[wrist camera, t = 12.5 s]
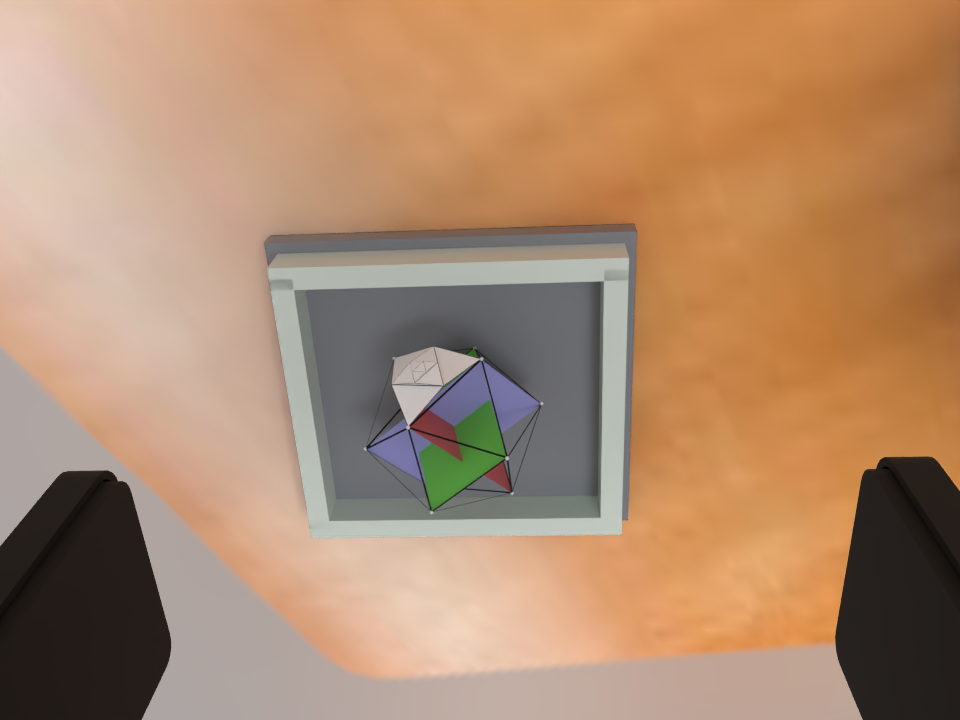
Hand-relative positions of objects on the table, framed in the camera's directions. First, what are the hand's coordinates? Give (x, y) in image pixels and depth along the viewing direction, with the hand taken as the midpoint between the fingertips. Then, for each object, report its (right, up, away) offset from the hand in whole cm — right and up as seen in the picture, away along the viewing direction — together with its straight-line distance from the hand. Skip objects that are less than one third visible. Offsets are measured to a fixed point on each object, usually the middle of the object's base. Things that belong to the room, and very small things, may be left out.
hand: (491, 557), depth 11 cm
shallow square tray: (-1, +2, +31) cm, 31 cm away
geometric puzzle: (-1, +1, +30) cm, 30 cm away
